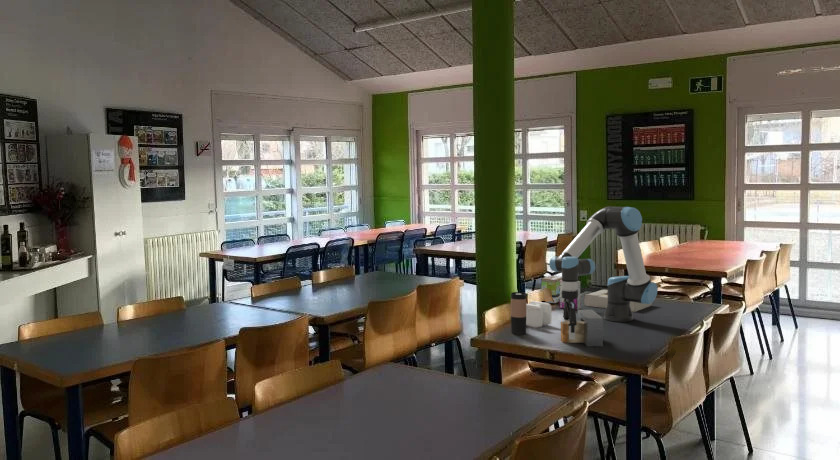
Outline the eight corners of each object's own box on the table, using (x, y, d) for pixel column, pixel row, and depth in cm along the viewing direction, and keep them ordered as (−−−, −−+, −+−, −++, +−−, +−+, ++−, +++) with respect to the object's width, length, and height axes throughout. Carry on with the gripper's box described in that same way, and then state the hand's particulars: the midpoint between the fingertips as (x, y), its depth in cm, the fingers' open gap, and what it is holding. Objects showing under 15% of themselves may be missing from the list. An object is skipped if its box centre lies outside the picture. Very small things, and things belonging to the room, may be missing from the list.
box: (652, 306, 409) (601, 300, 430) (652, 293, 409) (601, 287, 429) (635, 313, 392) (584, 306, 412) (636, 300, 391) (584, 293, 412)
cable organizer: (553, 326, 359) (553, 304, 358) (539, 329, 352) (539, 306, 351) (531, 321, 370) (531, 300, 369) (517, 324, 363) (517, 302, 362)
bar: (599, 339, 328) (599, 321, 327) (601, 342, 324) (601, 323, 323) (560, 340, 328) (560, 321, 328) (562, 342, 324) (562, 323, 323)
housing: (592, 336, 336) (592, 309, 335) (602, 346, 316) (603, 318, 315) (577, 336, 336) (577, 309, 335) (587, 346, 316) (587, 318, 315)
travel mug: (509, 331, 348) (509, 292, 346) (524, 331, 348) (524, 291, 346) (512, 335, 340) (512, 294, 338) (528, 334, 341) (528, 294, 339)
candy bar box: (558, 308, 405) (559, 280, 403) (562, 307, 409) (562, 279, 407) (577, 310, 399) (577, 282, 397) (580, 308, 403) (580, 280, 401)
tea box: (556, 303, 420) (556, 279, 418) (540, 302, 425) (540, 278, 424) (565, 299, 432) (565, 276, 431) (549, 298, 438) (549, 275, 436)
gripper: (583, 294, 313) (583, 342, 314) (572, 285, 335) (572, 330, 337) (566, 294, 313) (566, 342, 314) (557, 286, 335) (556, 330, 337)
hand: (569, 336), depth 326 cm, fingers open, 10 cm apart
